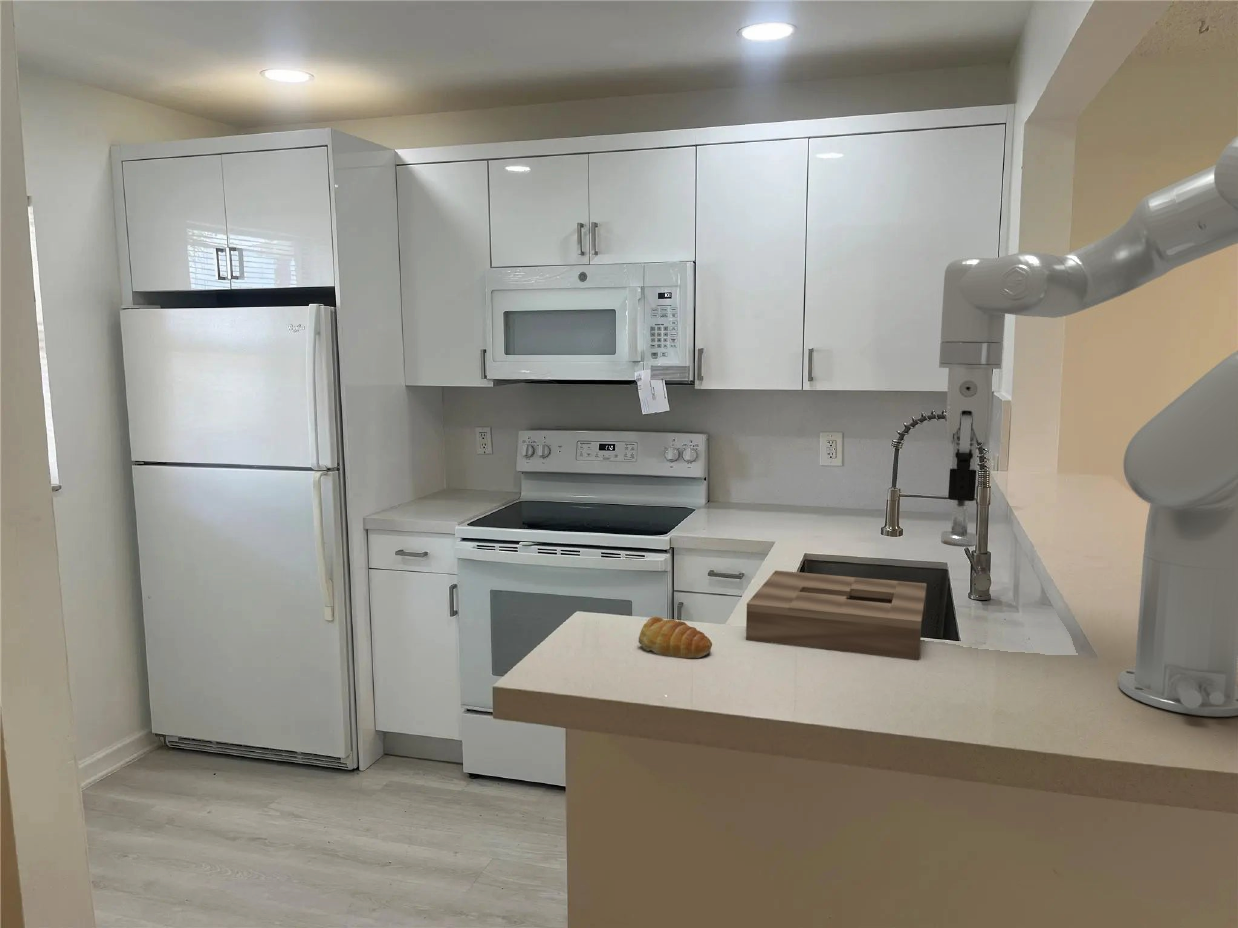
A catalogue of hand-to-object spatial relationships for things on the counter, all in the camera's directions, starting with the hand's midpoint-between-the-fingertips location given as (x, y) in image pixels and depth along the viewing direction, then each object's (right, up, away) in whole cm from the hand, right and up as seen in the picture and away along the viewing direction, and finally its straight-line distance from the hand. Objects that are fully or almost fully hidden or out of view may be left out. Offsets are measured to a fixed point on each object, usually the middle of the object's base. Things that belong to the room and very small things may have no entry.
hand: (961, 496), depth 117 cm
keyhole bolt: (0, -6, +1) cm, 6 cm away
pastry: (-38, -20, -1) cm, 43 cm away
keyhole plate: (-15, -19, +8) cm, 25 cm away
